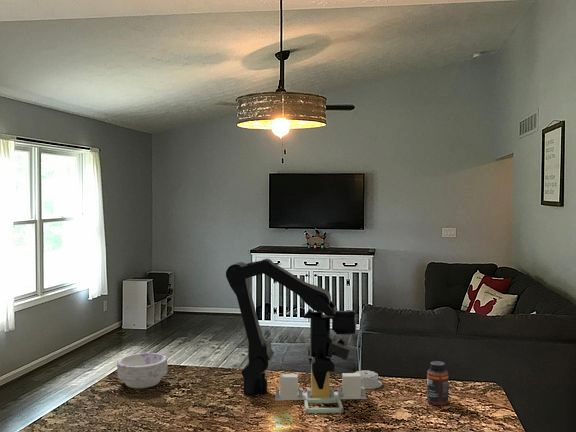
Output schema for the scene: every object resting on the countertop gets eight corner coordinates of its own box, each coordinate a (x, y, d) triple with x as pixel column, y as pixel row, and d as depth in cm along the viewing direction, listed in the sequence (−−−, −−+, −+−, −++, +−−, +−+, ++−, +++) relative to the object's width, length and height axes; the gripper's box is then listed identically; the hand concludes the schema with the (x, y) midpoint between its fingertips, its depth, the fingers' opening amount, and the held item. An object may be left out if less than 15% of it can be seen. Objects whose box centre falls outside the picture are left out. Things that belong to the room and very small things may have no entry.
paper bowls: (107, 389, 179) (106, 363, 178) (134, 374, 193) (134, 350, 193) (151, 394, 174) (151, 367, 174) (176, 378, 189) (176, 354, 188)
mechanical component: (383, 393, 175) (381, 382, 185) (383, 379, 175) (381, 368, 185) (349, 392, 176) (349, 381, 186) (349, 377, 176) (349, 368, 186)
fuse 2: (343, 397, 168) (343, 376, 168) (342, 393, 171) (342, 373, 171) (360, 396, 169) (360, 376, 168) (359, 393, 172) (359, 373, 171)
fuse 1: (280, 398, 168) (280, 377, 167) (280, 394, 171) (280, 374, 170) (298, 397, 168) (298, 377, 168) (297, 394, 171) (297, 373, 171)
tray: (306, 416, 157) (306, 409, 156) (304, 405, 165) (304, 398, 164) (343, 416, 157) (343, 408, 157) (339, 405, 165) (339, 398, 165)
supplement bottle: (450, 400, 168) (450, 361, 168) (446, 407, 163) (446, 367, 163) (429, 397, 171) (429, 359, 170) (424, 404, 166) (425, 364, 165)
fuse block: (275, 403, 166) (275, 393, 166) (275, 396, 172) (274, 386, 172) (366, 402, 167) (366, 391, 167) (363, 394, 173) (363, 384, 173)
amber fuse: (312, 397, 168) (312, 370, 168) (311, 394, 171) (311, 366, 171) (329, 397, 168) (329, 369, 168) (328, 393, 171) (328, 366, 171)
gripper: (353, 341, 160) (352, 398, 161) (343, 325, 179) (343, 376, 179) (312, 341, 159) (312, 398, 160) (307, 326, 178) (307, 377, 179)
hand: (320, 387), depth 170 cm, fingers closed on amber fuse, 3 cm apart
